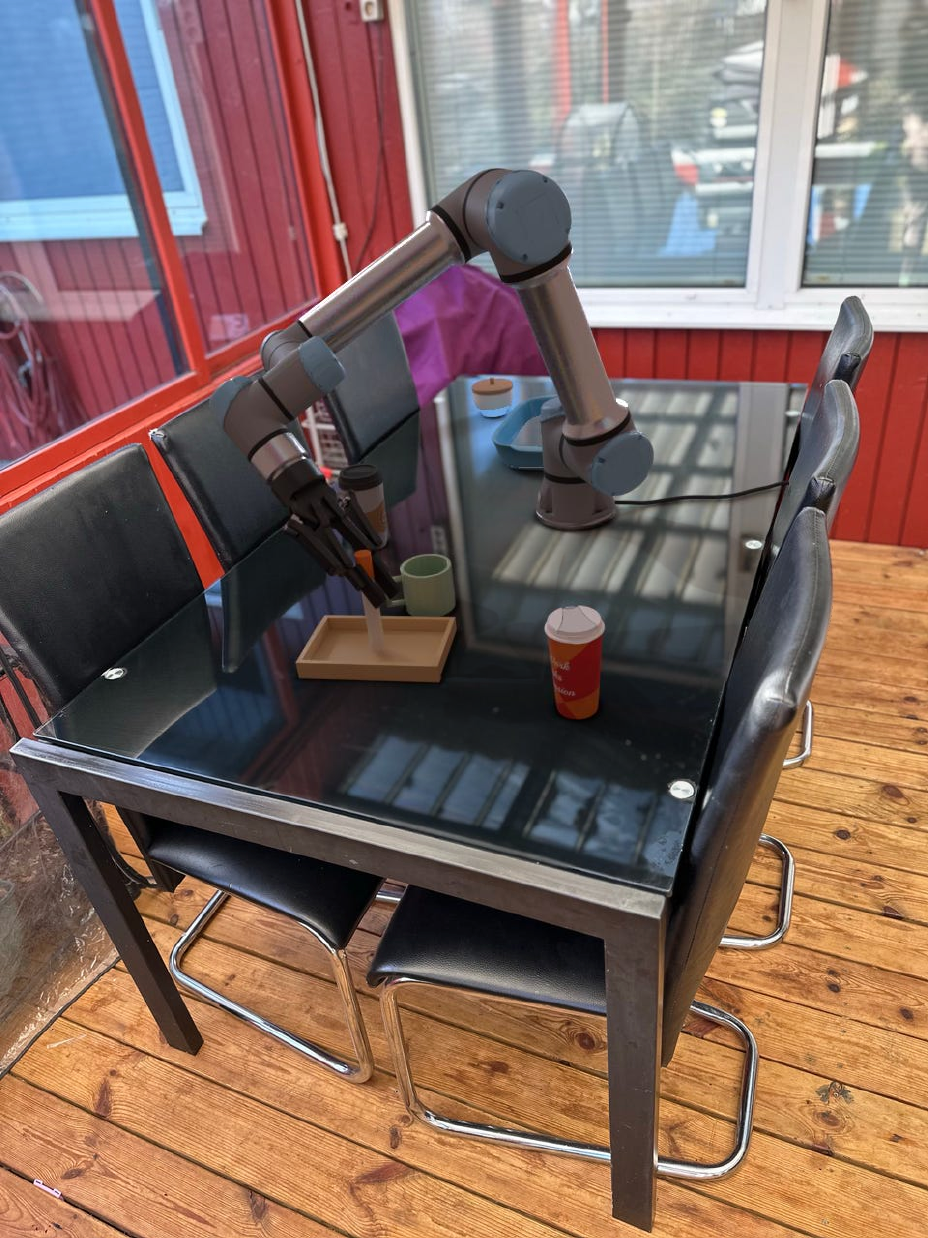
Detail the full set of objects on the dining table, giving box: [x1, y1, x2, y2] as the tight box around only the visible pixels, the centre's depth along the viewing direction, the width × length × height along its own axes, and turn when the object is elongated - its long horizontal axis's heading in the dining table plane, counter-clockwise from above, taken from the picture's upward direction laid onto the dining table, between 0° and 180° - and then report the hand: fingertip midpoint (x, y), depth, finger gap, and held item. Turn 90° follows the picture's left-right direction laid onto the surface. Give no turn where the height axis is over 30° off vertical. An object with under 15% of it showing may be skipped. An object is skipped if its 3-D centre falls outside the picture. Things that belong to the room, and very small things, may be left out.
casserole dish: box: [491, 394, 558, 472], centre depth 202 cm, size 37×22×7 cm, turn 162°
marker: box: [353, 550, 385, 651], centre depth 131 cm, size 2×2×16 cm
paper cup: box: [544, 605, 606, 720], centre depth 116 cm, size 8×8×14 cm
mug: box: [384, 553, 457, 617], centre depth 144 cm, size 11×8×8 cm
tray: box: [295, 614, 458, 683], centre depth 135 cm, size 22×14×3 cm, turn 80°
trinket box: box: [470, 377, 514, 410], centre depth 227 cm, size 11×11×9 cm
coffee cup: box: [337, 463, 388, 550], centre depth 166 cm, size 8×8×15 cm
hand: (388, 599), depth 128 cm, fingers closed on marker, 2 cm apart
